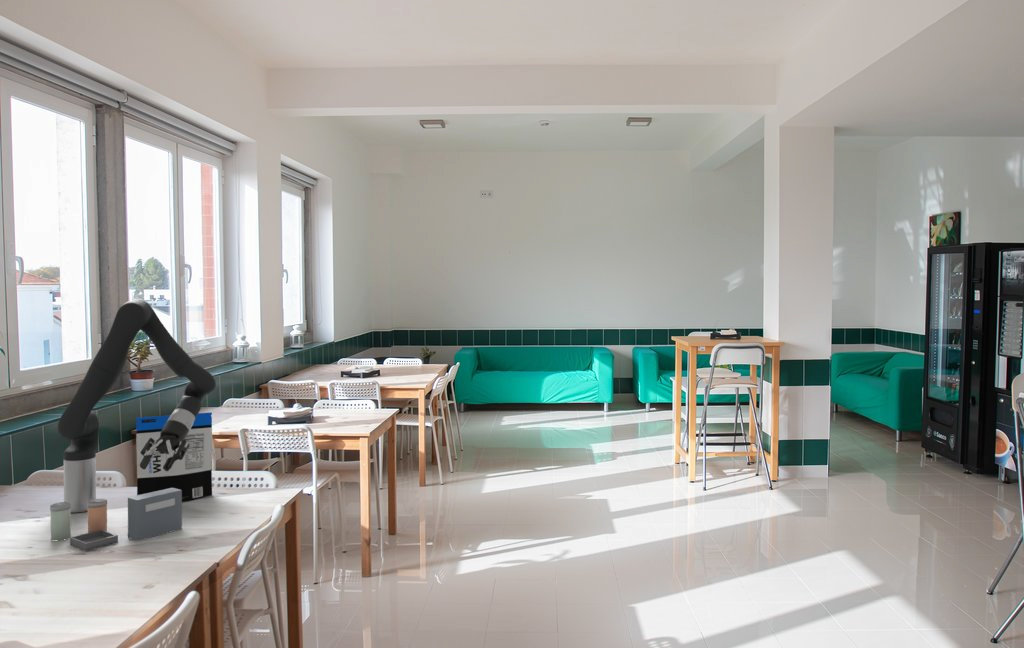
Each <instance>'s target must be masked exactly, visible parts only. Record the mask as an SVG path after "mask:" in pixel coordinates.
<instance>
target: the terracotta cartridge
mask: <svg viewBox="0 0 1024 648" xmlns="http://www.w3.org/2000/svg"><path fill="white" fill-rule="evenodd" d="M87 507H88V511H87V533H90V532H94V531H98V530H105V531H108V499H105V498H96V499H95V500H90V501H88V502H87Z"/></svg>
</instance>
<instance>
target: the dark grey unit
mask: <svg viewBox="0 0 1024 648" xmlns="http://www.w3.org/2000/svg"><path fill="white" fill-rule="evenodd" d="M182 503H183V502H182V490H179V489H176V488H168V489H164V490H159V491H155V492H150V493H146V494H141V495H137V494H136V495H132V496H129V497H127V537H128V539H131V540H133V541H136V542H138V541H142V540H146V539H150V538H153V537H157V536H160V535H164V534H168V533H171V532H170V531H172V532H175V531H179V530H182V528H183V509H182V508H183V505H182ZM178 529H179V530H178ZM174 530H175V531H174ZM167 532H168V533H167Z"/></svg>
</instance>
